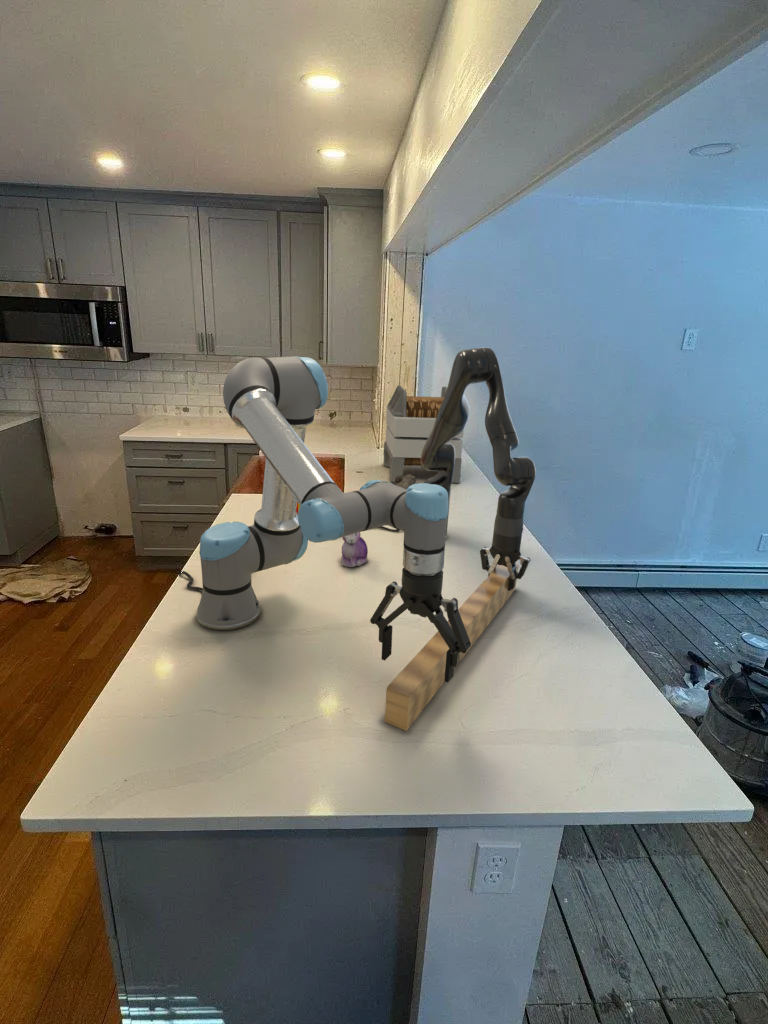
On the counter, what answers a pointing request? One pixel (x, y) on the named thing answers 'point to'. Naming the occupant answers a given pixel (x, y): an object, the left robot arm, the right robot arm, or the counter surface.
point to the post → (443, 652)
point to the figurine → (354, 550)
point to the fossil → (404, 481)
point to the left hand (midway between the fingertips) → (416, 667)
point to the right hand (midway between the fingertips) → (500, 586)
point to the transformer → (413, 431)
